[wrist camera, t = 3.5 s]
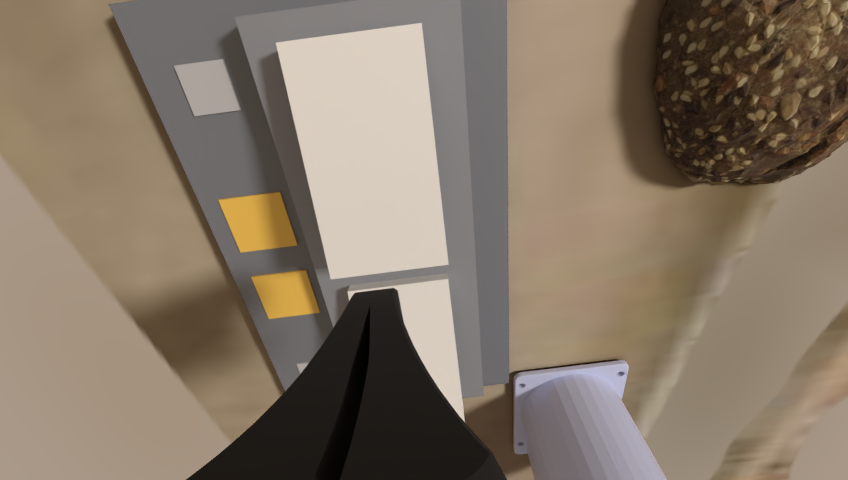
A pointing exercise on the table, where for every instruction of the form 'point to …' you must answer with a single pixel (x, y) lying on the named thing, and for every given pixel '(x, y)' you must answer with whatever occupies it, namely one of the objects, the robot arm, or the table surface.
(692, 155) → the bread roll
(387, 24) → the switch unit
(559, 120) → the table surface
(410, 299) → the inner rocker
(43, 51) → the table surface
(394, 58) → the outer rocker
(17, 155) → the table surface
